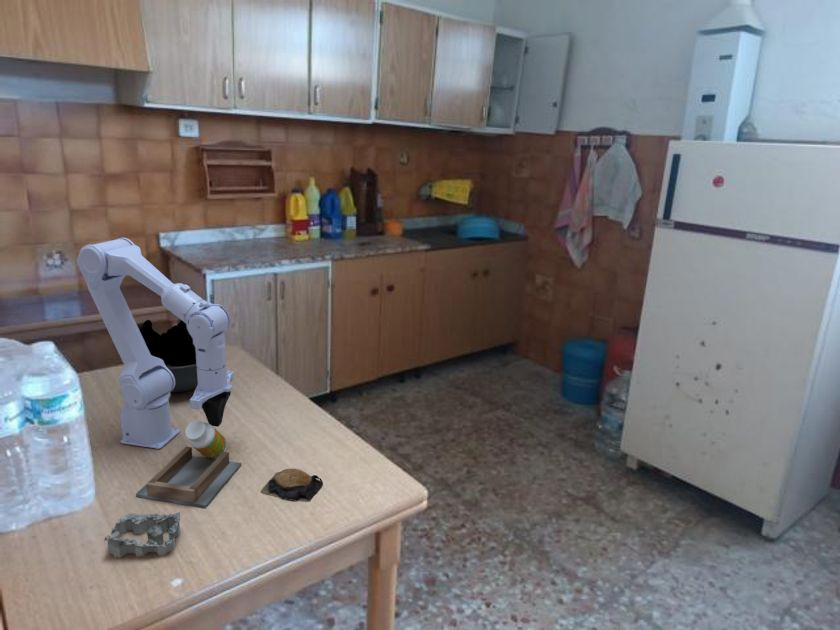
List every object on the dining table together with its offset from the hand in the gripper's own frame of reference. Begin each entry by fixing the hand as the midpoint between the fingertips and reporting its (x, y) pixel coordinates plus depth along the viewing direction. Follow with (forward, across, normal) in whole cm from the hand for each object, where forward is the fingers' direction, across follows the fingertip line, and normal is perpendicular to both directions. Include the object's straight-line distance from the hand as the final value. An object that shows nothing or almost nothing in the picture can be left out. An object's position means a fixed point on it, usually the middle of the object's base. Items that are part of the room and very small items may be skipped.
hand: (215, 424), depth 122 cm
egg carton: (+7, -28, -2) cm, 29 cm away
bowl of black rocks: (+7, +26, +24) cm, 36 cm away
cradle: (+7, -10, 0) cm, 12 cm away
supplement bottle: (+5, 0, 0) cm, 5 cm away
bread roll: (+8, -7, -20) cm, 22 cm away
